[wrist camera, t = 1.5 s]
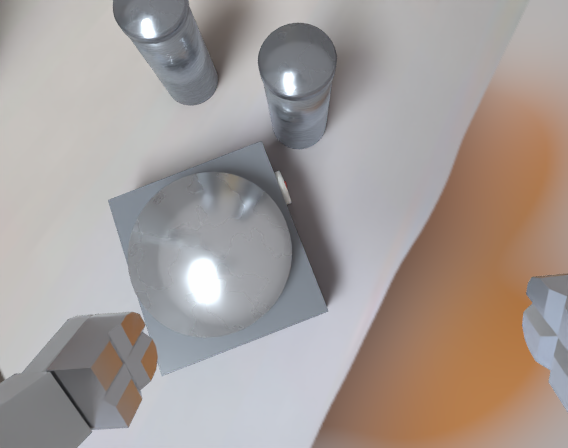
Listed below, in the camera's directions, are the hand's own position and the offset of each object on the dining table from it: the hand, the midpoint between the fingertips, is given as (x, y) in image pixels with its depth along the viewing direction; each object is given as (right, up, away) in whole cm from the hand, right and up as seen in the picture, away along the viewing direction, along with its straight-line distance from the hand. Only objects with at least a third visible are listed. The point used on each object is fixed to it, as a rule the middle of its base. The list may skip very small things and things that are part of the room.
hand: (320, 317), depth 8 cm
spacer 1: (-9, +14, +24) cm, 29 cm away
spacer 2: (+1, +10, +22) cm, 25 cm away
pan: (-6, 0, +18) cm, 18 cm away
